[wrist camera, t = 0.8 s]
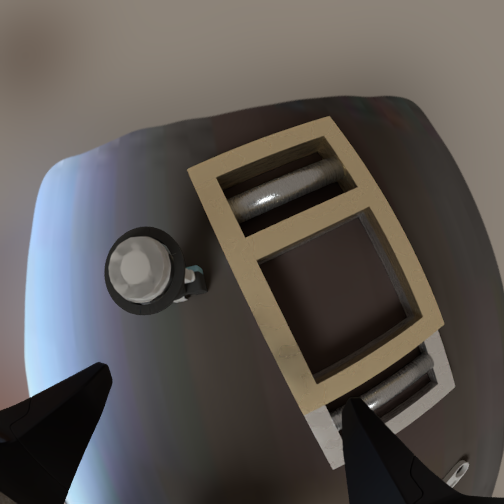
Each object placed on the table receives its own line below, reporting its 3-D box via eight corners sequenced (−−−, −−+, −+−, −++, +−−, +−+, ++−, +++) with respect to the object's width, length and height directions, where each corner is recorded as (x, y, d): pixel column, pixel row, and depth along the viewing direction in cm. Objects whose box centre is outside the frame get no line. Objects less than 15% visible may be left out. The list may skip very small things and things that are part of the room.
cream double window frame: (329, 462, 20) (336, 477, 17) (193, 184, 26) (186, 169, 23) (447, 384, 21) (463, 389, 19) (323, 132, 28) (329, 115, 25)
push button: (147, 323, 24) (87, 326, 14) (136, 267, 25) (76, 241, 15) (215, 307, 24) (189, 303, 14) (201, 249, 25) (169, 210, 15)
